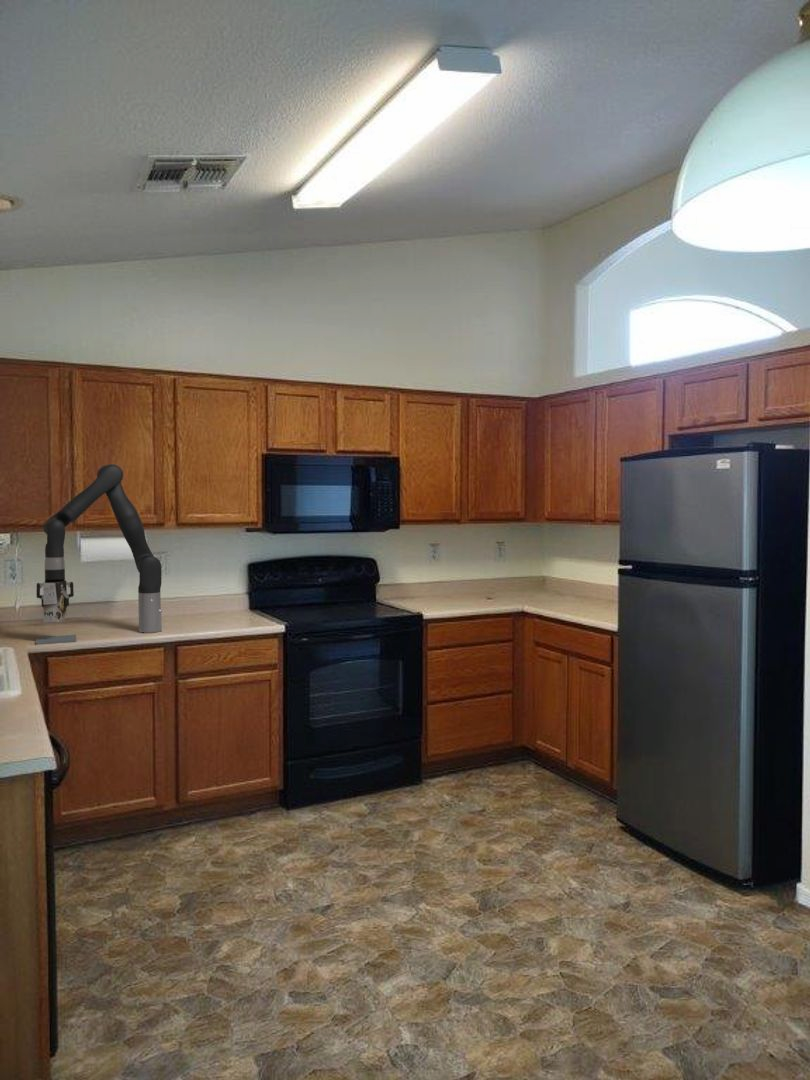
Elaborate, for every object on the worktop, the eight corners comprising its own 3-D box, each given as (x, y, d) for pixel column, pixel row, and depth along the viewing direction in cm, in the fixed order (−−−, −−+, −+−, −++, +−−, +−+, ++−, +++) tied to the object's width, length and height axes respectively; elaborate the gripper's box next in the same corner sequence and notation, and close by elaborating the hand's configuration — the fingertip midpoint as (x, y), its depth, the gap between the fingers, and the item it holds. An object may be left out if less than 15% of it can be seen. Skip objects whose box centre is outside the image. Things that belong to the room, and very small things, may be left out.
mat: (75, 636, 331) (75, 634, 331) (76, 641, 318) (76, 640, 318) (36, 638, 325) (36, 637, 325) (35, 644, 312) (35, 643, 312)
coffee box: (59, 622, 317) (58, 582, 316) (43, 622, 316) (42, 582, 315) (67, 618, 326) (67, 580, 325) (51, 618, 325) (51, 580, 325)
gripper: (35, 569, 314) (35, 609, 315) (73, 568, 319) (74, 608, 320) (35, 567, 321) (36, 607, 321) (73, 566, 326) (74, 605, 327)
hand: (55, 607), depth 321 cm, fingers closed on coffee box, 7 cm apart
